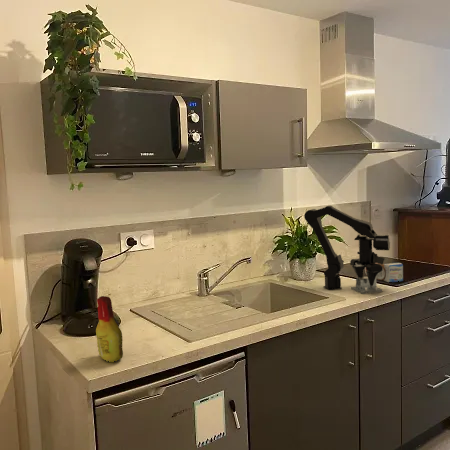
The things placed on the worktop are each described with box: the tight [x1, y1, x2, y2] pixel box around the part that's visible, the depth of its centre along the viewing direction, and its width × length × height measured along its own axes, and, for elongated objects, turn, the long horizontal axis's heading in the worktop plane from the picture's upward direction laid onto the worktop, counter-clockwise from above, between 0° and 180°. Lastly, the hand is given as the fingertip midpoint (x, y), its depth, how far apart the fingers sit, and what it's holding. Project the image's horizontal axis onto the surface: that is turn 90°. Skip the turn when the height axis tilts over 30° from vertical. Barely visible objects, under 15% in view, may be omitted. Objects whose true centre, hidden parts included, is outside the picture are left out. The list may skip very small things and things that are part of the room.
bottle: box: [95, 295, 124, 363], centre depth 145 cm, size 12×6×20 cm, turn 38°
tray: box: [350, 285, 383, 295], centre depth 214 cm, size 10×10×2 cm
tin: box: [363, 263, 386, 281], centre depth 235 cm, size 15×3×8 cm, turn 27°
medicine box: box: [383, 262, 404, 283], centre depth 229 cm, size 8×4×9 cm, turn 105°
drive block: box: [355, 276, 378, 290], centre depth 214 cm, size 8×4×5 cm, turn 103°
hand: (366, 283), depth 214 cm, fingers open, 9 cm apart
